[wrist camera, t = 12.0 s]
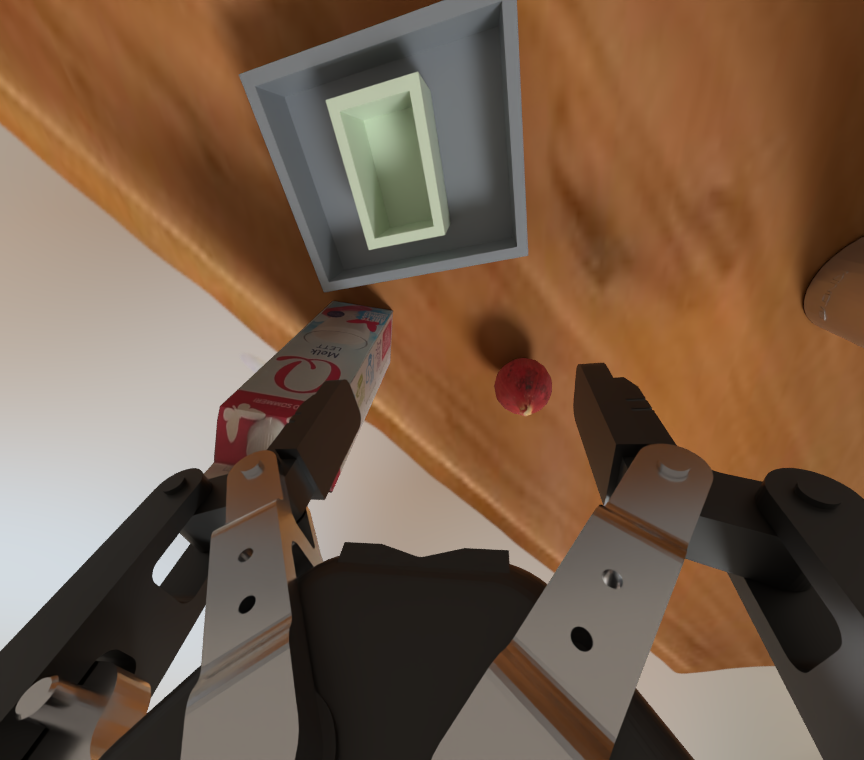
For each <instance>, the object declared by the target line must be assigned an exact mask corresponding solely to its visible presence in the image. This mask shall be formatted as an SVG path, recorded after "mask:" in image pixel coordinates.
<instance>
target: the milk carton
mask: <svg viewBox="0 0 864 760" xmlns="http://www.w3.org/2000/svg"><path fill="white" fill-rule="evenodd" d="M392 317H393V311H392V310H386V309H380V308H374V307H368V306H362V305H355V304H349V303H343V302H337V301H332V302H331V303H330V304H329V305H328V306H327V307H326V308H325V309H324V310H323V311H321V312H320V313H319V314H318V315H317V316H316V317H315V318H314V319H313V320H312V321H311V322H310V323H309V324H308V325H306V326H305V327H304V328H303V329H302V330H301V331H300V332H299V333H298V334H297V335H296V336H295V337H294V338H293V339H291V340H290V341H289V342H288V343H287V344H286V345H285V346H284V347H283V348H282V349H281V350H280V351H279V352H278V353H277V354H275V355H274V356H273V357H272V358H271V359H270V360H269V361H268V362H267V363H266V364H265V365H264V366H263V367H261V368H260V369H259V370H258V371H257V372H256V373H255V374H254V375H253V376H252V377H251V378H250V379H249V380H248V381H247V382H245V383H244V384H243V385H242V386H241V387H240V388H239V389H238V390H237V391H236V392H235V393H234V394H233V395H232V396H230V397H229V398H228V399H227V400H226V401H225V402H224V403H223V404H222V405H221V406H220V409H219V414H218V419H217V430H216V442H215V455H214V463H213V464H212V465H211V467H210V468H209V469H208V470H207V471H206V472H205V473H204V475H205V476H206V477H207V478H208V479H211V478H214V477H218V476H222V475H225V474H229V472H230V470H231V469H232V468H233V466H234V465H235V464H236V463H237V462H239V461H240V460H241V459H243V458H244V457H246V456H248V455H250V454H252V453H254V452H258V451H262V450H267V449H268V447H269V446H270V445H271V443H272V442H273V441H274V440H275V438H276V437H277V436H278V434H279V433H280V432H281V430H282V429H283V428H284V426H285V425H286V424H287V423H289V420H290V419H291V417H292V416H293V415H295V412H296V411H297V409H298V408H299V407H300V405H301V404H302V403H303V402H304V401H306V400H307V399H308V398H310V397H311V396H312V395H314V394H316V392H317V391H318V390H319V388H320V387H321V386H322V384H323V383H324V382H325V381H328V380H343V379H345V380H347V381H348V382H349V383H350V386H351V389H352V391H353V394H354V397H355V399H356V402H357V405H358V407H359V410H360V414H361V424H360V428H361V426H362V424H363V422H364V419H365V417H366V415H367V413H368V410H369V408H370V406H371V404H372V401H373V399H374V397H375V395H376V392H377V390H378V388H379V386H380V384H381V381H382V379H383V377H384V375H385V372H386V370H387V368H388V365H389V363H390V353H391V335H392ZM360 428H359V430H358V432H357V434H356V436H355V438H354V440H353V442H352V444H351V446H350V449H349V451H348V453H347V455H346V457H345V459H344V461H343V463H342V465H341V467H340V469H339V471H338V473H337V476H336V478H335V480H334V482H333V484H332V486H331V488H330V490H329V492H332V491H333V489H334V487H335V484H336V482H337V480H338V477H339V475H340V473H341V471H342V469H343V466H344V464H345V462H346V460H347V457H348V455H349V453H350V451H351V448H352V446H353V444H354V442H355V439H356V437H357V435H358V433H359V431H360Z"/></svg>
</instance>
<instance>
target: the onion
mask: <svg viewBox="0 0 864 760" xmlns="http://www.w3.org/2000/svg"><path fill="white" fill-rule="evenodd" d="M494 387H495V392H496V397H497V400H498V401H499V402H500V403H501V405H502V406H503V407H504V408H505V409H507V410H509V411H511V412H513V413H515V414H520V415H523V416H527V415H530V414H532V413H535V412H537V411H539V410H541V409H542V408H543V407H544V406H545V405H546V404H547V402H548V400H549V398H550V396H551V392H552V381H551V377H550V375H549V374H548V372H547V370H546V369H545V367H544V366H543V365H541V364H540V363H539V362H537V361H536V360H532V359H527V358H519V359H515V360H512V361H510V362H509V363H507V364H506V365H504V366H503V367H502V368H501V370H500V371H499V372H498V374H497V377H496V381H495V385H494Z"/></svg>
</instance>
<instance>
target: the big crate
mask: <svg viewBox="0 0 864 760" xmlns="http://www.w3.org/2000/svg"><path fill="white" fill-rule="evenodd" d="M415 72H419V74H420V75H421V77H422V79H423V80H424V82H425V83H426V85H427V86H428V88H429V89H430V91H431V97H432V104H433V111H434V117H435V124H436V130H437V137H438V143H439V150H440V156H441V163H442V169H443V176H444V182H445V189H446V195H447V202H448V208H449V215H450V221H451V223H450V226H449V228H448V230H447V232H446V234H445V235H442V236H437V237H432V238H427V239H422V240H417V241H412V242H407V243H402V244H397V245H392V246H387V247H382V248H377V249H372V250H369V249H368V246H367V242H366V239H365V235H364V232H363V229H362V225H361V222H360V218H359V215H358V211H357V208H356V204H355V201H354V197H353V194H352V190H351V187H350V184H349V180H348V177H347V173H346V170H345V166H344V163H343V159H342V156H341V152H340V149H339V145H338V142H337V139H336V135H335V132H334V128H333V125H332V121H331V118H330V114H329V111H328V107H327V104H326V100H328V99H331V98H334V97H337V96H341V95H344V94H347V93H350V92H354V91H357V90H360V89H363V88H366V87H370V86H373V85H376V84H379V83H383V82H386V81H389V80H392V79H395V78H399V77H402V76H405V75H408V74H412V73H415ZM239 76H240V79H241V82H242V84H243V87H244V89H245V92H246V94H247V97H248V100H249V102H250V105H251V107H252V110H253V112H254V115H255V117H256V120H257V123H258V125H259V128H260V130H261V133H262V135H263V138H264V140H265V143H266V146H267V148H268V151H269V153H270V156H271V158H272V161H273V163H274V166H275V169H276V171H277V174H278V176H279V179H280V181H281V184H282V186H283V189H284V192H285V194H286V197H287V199H288V202H289V204H290V207H291V210H292V212H293V215H294V217H295V220H296V222H297V225H298V227H299V230H300V233H301V235H302V238H303V240H304V243H305V245H306V248H307V250H308V253H309V256H310V258H311V261H312V263H313V266H314V268H315V271H316V273H317V276H318V279H319V281H320V284H321V286H322V289H323V291H324V292H329V291H335V290H340V289H346V288H351V287H357V286H362V285H368V284H373V283H379V282H384V281H390V280H396V279H401V278H407V277H412V276H418V275H423V274H429V273H434V272H440V271H445V270H451V269H456V268H462V267H467V266H473V265H479V264H484V263H490V262H495V261H501V260H506V259H512V258H517V257H523V256H528V241H527V219H526V197H525V175H524V152H523V130H522V108H521V86H520V63H519V41H518V19H517V0H443V1H441V2H438V3H435V4H432V5H430V6H427V7H424V8H421V9H419V10H416V11H413V12H410V13H407V14H405V15H402V16H399V17H396V18H394V19H391V20H388V21H385V22H383V23H380V24H377V25H374V26H371V27H369V28H366V29H363V30H360V31H358V32H355V33H352V34H349V35H347V36H344V37H341V38H338V39H335V40H333V41H330V42H327V43H324V44H322V45H319V46H316V47H313V48H311V49H308V50H305V51H302V52H299V53H297V54H294V55H291V56H288V57H286V58H283V59H280V60H277V61H275V62H272V63H269V64H266V65H263V66H261V67H258V68H255V69H252V70H250V71H247V72H244V73H241V74H239Z"/></svg>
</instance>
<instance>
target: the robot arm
mask: <svg viewBox="0 0 864 760" xmlns="http://www.w3.org/2000/svg"><path fill="white" fill-rule="evenodd" d="M804 310H805V313H806V316H807V317H808V319H809V320H810V321H811V322H812V323H814V324H815V325H817V326H819V327H821V328H823V329H825V330H827V331H829V332H831V333H834V334H836V335H838V336H840V337H842V338H844V339H846V340H848V341H850V342H853V343H854V344H856V345H858V346H860V347H863V348H864V237H862V238H860V239H858V240H857V241H855V242H853V243H852V244H850V245H848V246H847V247H845V248H844V249H843V250H841V251H840V252H839V253H837V254H836V255H835V256H834V257H832V258H831V259H830V260H829V261H828V262H827V263H826V264H825V265H824V266H823V267H822V268H821V269H820V271H819V272H818V273H817V275H816V276H815V277H814V278H813V280H812V282H811V284H810V285H809V287H808V289H807V292H806V295H805V299H804ZM573 406H574V417H575V421H576V424H577V427H578V430H579V433H580V436H581V439H582V442H583V445H584V448H585V451H586V454H587V457H588V460H589V463H590V466H591V469H592V472H593V475H594V478H595V481H596V484H597V487H598V490H599V493H600V496H601V499H602V502H603V505H604V506H603V505H599V506H598V507H597V508H596V509H595V511H594V512H593V514H592V515H591V517H590V518H589V520H588V521H587V523H586V525H585V526H584V528H583V529H582V531H581V533H580V534H579V536H578V537H577V539H576V540H575V542H574V544H573V545H572V547H571V548H570V550H569V551H568V553H567V555H566V556H565V558H564V559H563V561H562V562H561V564H560V566H559V567H558V569H557V570H556V572H555V573H554V575H553V577H552V578H551V580H550V581H549V583H548V585H547V584H546V583H545V582H544V581H542V580H541V579H540V578H538V577H536V576H535V575H533V574H532V573H530V572H528V571H526V570H524V569H522V568H519V567H517V566H514V565H511V564H509V551H508V550H489V549H469V548H464V549H459V550H454V551H450V552H445V553H440V554H436V555H430V556H426V557H417V556H414V555H411V554H408V553H406V552H403V551H400V550H397V549H394V548H391V547H389V546H386V545H383V544H370V543H351V542H345V543H344V546H343V548H342V551H341V554H340V556H337V557H334V558H331V559H328V560H326V561H324V562H323V559H322V556H321V553H320V549H319V545H318V541H317V537H316V533H315V529H314V525H313V521H312V517H311V513H310V510H309V508H308V507H307V505H308V503H309V502H310V500H311V499H316V500H325V498H326V496H327V494H328V492H329V490H330V488H331V486H332V484H333V482H334V480H335V478H336V476H337V473H338V471H339V469H340V467H341V465H342V463H343V461H344V459H345V457H346V455H347V453H348V451H349V449H350V446H351V444H352V442H353V440H354V438H355V436H356V434H357V432H358V430H359V428H360V424H361V414H360V410H359V407H358V405H357V402H356V399H355V397H354V394H353V391H352V389H351V386H350V383H349V382H348V381H347V380H345V379H343V380H328V381H325V382H324V383H323V384H322V386H321V387H320V388H319V390H318V391H317V392H316V394H314V395H312V396H311V397H310V398H308V399H307V400H306V401H304V402H303V403H302V404H301V405H300V407H299V408H298V409H297V411H296V412H295V415H293V416H292V417H291V419H290V420H289V423H287V424H286V425H285V426H284V428H283V429H282V430H281V432H280V433H279V434H278V436H277V437H276V438H275V440H274V441H273V442H272V443H271V445H270V446H269V447H268V449H267V450H262V451H258V452H254V453H252V454H250V455H248V456H246V457H244V458H243V459H241V460H240V461H239V462H237V463H236V464H235V465H234V466H233V468H232V469H231V470H230V472H229V474H225V475H222V476H218V477H214V478H211V479H208V478H207V477H206V476H205V475H204V474H203V472H202V471H201V470H200V469H196V468H192V469H187V470H183V471H181V472H178V473H176V474H174V475H173V476H171V477H169V478H168V479H166V480H165V481H163V482H162V483H161V484H160V485H159V486H158V487H157V488H156V489H155V490H154V491H153V492H152V493H151V494H150V495H149V496H148V497H147V498H146V499H145V500H144V502H142V503H141V505H139V507H138V508H137V509H136V510H135V511H134V512H133V513H132V514H131V515H130V516H129V517H128V518H127V519H126V520H125V521H124V522H123V523H122V524H121V526H120V527H119V528H118V529H117V530H116V531H115V532H114V533H113V534H112V535H111V536H110V537H109V538H108V539H107V540H106V541H105V542H104V543H103V544H102V545H101V546H100V547H99V549H98V550H97V551H96V552H95V553H94V554H93V555H92V556H91V557H90V558H89V559H88V560H87V561H86V562H85V563H84V564H83V565H82V566H81V567H80V568H79V570H78V571H77V572H76V573H75V574H74V575H73V576H72V577H71V578H70V579H69V580H68V581H67V582H66V583H65V584H64V585H63V586H62V587H61V588H60V589H59V590H58V592H57V593H56V594H55V595H54V596H53V597H52V598H51V599H50V600H49V601H48V602H47V603H46V604H45V605H44V606H43V607H42V608H41V609H40V611H38V613H37V614H36V615H35V616H34V617H33V618H32V619H31V620H30V621H29V622H28V623H27V624H26V625H25V626H24V627H23V628H22V629H21V630H20V631H19V632H18V633H17V635H16V636H15V637H14V638H13V639H12V640H11V641H10V642H9V643H8V644H7V645H6V646H5V647H4V648H3V649H2V650H1V651H0V760H694V759H693V757H692V756H691V755H690V754H689V753H688V751H687V750H686V749H685V748H684V746H683V745H682V744H681V743H680V742H679V740H678V739H677V738H676V737H675V735H674V734H673V733H672V732H671V731H670V729H669V728H668V727H667V726H666V724H665V723H664V722H663V721H662V719H661V718H660V717H659V716H658V715H657V713H656V712H655V711H654V710H653V708H652V707H651V706H650V705H649V704H648V702H647V701H646V700H645V699H644V697H643V696H642V695H641V694H640V693H639V692H638V690H637V689H636V686H637V683H638V680H639V678H640V675H641V673H642V670H643V667H644V664H645V662H646V659H647V657H648V654H649V652H650V649H651V646H652V644H653V641H654V638H655V636H656V633H657V630H658V628H659V625H660V623H661V620H662V617H663V615H664V612H665V609H666V607H667V604H668V602H669V599H670V596H671V594H672V591H673V588H674V586H675V583H676V581H677V578H678V575H679V573H680V570H681V567H682V565H683V562H684V559H688V560H691V561H694V562H697V563H701V564H704V565H707V566H710V567H713V568H716V569H719V570H722V571H725V572H727V573H728V575H729V577H730V579H731V581H732V583H733V585H734V587H735V588H736V590H737V592H738V594H739V596H740V598H741V600H742V602H743V604H744V606H745V608H746V610H747V612H748V614H749V616H750V618H751V620H752V622H753V624H754V625H755V627H756V629H757V631H758V633H759V635H760V637H761V639H762V641H763V643H764V645H765V647H766V649H767V651H768V653H769V655H770V657H771V659H772V661H773V662H774V664H775V666H776V668H777V670H778V672H779V674H780V676H781V678H782V680H783V682H784V684H785V686H786V688H787V690H788V692H789V694H790V696H791V697H792V699H793V701H794V703H795V705H796V707H797V709H798V711H799V713H800V715H801V717H802V718H803V721H804V723H805V725H806V727H807V729H808V731H809V733H810V734H811V737H812V738H813V740H814V742H815V744H816V746H817V748H818V750H819V752H820V754H821V756H822V758H823V760H864V499H863V498H862V497H861V496H859V495H858V494H857V493H856V492H854V491H853V490H852V489H850V488H848V487H847V486H845V485H843V484H842V483H840V482H838V481H836V480H834V479H831V478H829V477H827V476H824V475H821V474H818V473H815V472H812V471H808V470H803V469H796V468H781V469H776V470H773V471H771V472H770V473H768V474H767V476H766V477H765V479H764V481H763V482H761V481H756V480H752V479H747V478H742V477H737V476H733V475H728V474H724V473H720V472H716V471H713V470H711V468H710V467H709V465H708V464H707V463H706V462H705V461H704V460H703V459H702V458H701V457H699V456H698V455H696V454H695V453H693V452H691V451H689V450H687V449H684V448H682V447H679V446H677V445H676V444H675V442H674V441H673V439H672V438H671V436H670V435H669V433H668V432H667V430H666V429H665V427H664V426H663V424H662V423H661V421H660V419H659V418H658V416H657V415H656V413H655V412H654V410H652V407H651V406H650V404H649V403H648V401H647V400H645V397H644V395H643V394H642V392H641V391H640V389H639V388H638V386H636V385H635V384H633V383H632V382H630V381H629V380H627V379H626V378H624V377H620V378H613V376H612V375H611V373H610V371H609V369H608V368H607V366H606V364H605V363H592V364H578V366H577V369H576V380H575V392H574V405H573ZM179 533H180V534H181V535H182V536H183V537H185V539H187V540H188V541H189V542H190V543H191V544H190V545H189V546H188V548H187V549H186V551H185V552H184V553H183V555H182V556H181V558H180V559H179V560H178V562H177V563H176V565H175V566H174V567H173V569H172V570H171V572H170V573H169V574H168V576H167V577H166V578H165V580H164V581H163V582H162V584H161V585H160V587H159V586H158V585H156V584H155V583H154V581H153V578H152V572H153V569H154V566H155V564H156V563H157V561H158V560H159V559H160V557H161V556H162V555H163V553H164V552H165V551H166V549H167V548H168V547H169V546H170V544H171V543H172V542H173V540H174V539H175V538H176V537H177V535H178V534H179ZM205 605H206V610H205V623H204V636H203V650H202V663H201V666H200V667H199V668H197V669H196V670H195V671H194V672H193V673H192V674H191V675H190V676H188V677H187V678H186V679H185V680H184V681H183V682H182V683H181V684H179V685H178V686H177V687H176V688H175V689H174V690H173V691H172V692H171V693H169V694H168V695H167V696H166V697H165V698H164V699H163V700H162V701H161V702H159V703H158V704H157V705H156V706H155V707H154V708H153V709H152V710H151V711H149V712H148V713H146V712H147V710H148V707H149V703H150V699H151V697H152V695H153V694H154V692H155V690H156V688H157V687H158V685H159V683H160V682H161V680H162V678H163V676H164V675H165V673H166V671H167V670H168V668H169V666H170V665H171V663H172V661H173V660H174V658H175V656H176V654H177V653H178V651H179V649H180V648H181V646H182V644H183V643H184V641H185V639H186V637H187V636H188V634H189V632H190V631H191V629H192V627H193V626H194V624H195V622H196V620H197V619H198V617H199V615H200V613H201V612H202V610H203V608H204V607H205Z"/></svg>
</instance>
